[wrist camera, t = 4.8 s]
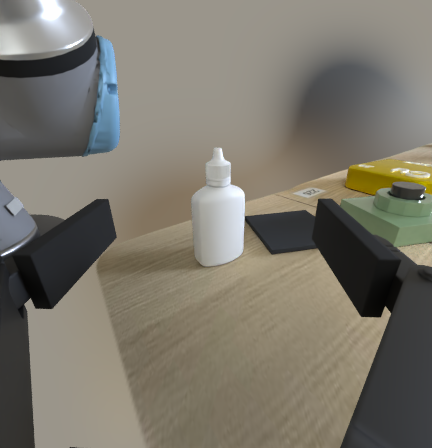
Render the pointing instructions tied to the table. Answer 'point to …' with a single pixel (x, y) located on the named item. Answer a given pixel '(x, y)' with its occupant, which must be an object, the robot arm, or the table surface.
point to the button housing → (393, 217)
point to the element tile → (387, 175)
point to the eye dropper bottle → (218, 215)
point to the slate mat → (284, 230)
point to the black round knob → (407, 190)
